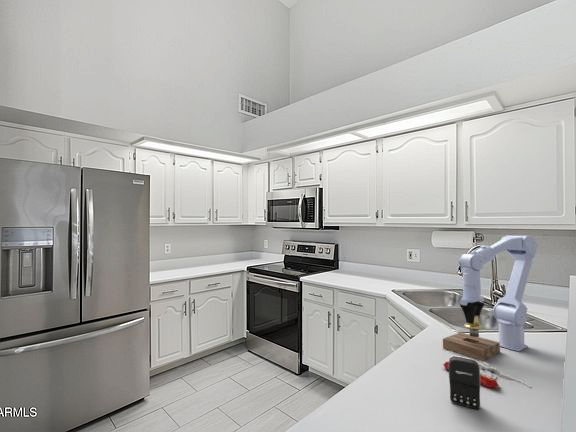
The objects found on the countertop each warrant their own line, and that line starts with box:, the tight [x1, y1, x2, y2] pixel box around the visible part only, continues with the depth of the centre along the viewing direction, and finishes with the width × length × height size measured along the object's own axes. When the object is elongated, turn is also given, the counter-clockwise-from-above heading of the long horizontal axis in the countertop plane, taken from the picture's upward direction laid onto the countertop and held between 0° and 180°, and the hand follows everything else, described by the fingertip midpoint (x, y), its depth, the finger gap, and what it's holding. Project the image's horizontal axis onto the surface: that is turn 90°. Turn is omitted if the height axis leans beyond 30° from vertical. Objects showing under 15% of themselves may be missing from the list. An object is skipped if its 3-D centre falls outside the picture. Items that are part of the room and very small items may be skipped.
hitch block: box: [442, 331, 501, 362], centre depth 113 cm, size 14×14×4 cm
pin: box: [463, 315, 484, 337], centre depth 112 cm, size 6×6×7 cm
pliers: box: [477, 361, 532, 389], centre depth 92 cm, size 10×2×15 cm
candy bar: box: [442, 361, 501, 388], centre depth 91 cm, size 16×4×3 cm, turn 28°
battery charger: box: [448, 355, 481, 410], centre depth 76 cm, size 7×4×11 cm, turn 58°
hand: (472, 322), depth 113 cm, fingers closed on pin, 4 cm apart
